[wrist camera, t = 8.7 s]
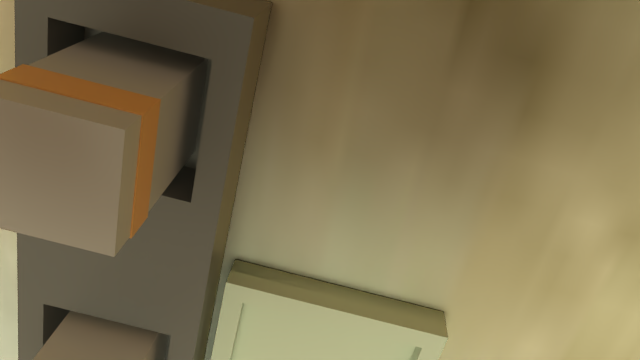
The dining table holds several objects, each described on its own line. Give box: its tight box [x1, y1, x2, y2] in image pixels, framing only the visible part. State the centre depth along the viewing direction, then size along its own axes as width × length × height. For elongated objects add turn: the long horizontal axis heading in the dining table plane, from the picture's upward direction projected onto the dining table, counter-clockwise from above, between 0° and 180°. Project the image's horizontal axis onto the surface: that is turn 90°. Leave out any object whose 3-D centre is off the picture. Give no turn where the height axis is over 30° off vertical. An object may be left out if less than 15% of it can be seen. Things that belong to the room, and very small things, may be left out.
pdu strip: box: [0, 0, 272, 360], centre depth 20 cm, size 7×20×8 cm, turn 167°
